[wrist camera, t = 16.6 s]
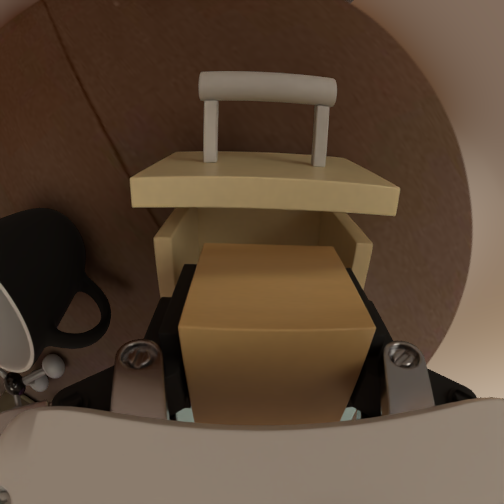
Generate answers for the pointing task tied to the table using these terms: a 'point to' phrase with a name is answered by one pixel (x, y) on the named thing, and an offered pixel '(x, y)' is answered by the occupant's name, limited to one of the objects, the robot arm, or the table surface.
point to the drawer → (261, 184)
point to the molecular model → (33, 378)
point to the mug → (42, 286)
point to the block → (272, 335)
